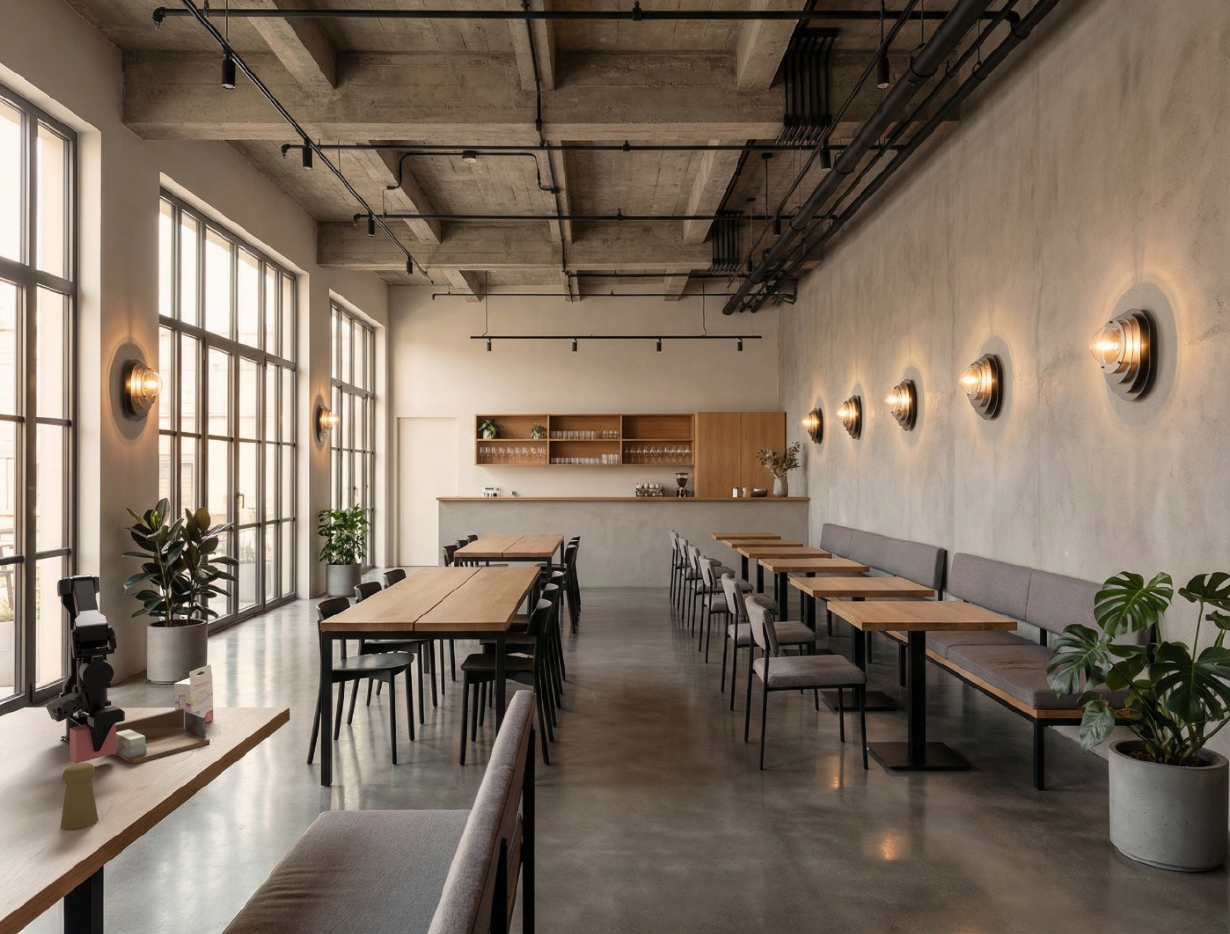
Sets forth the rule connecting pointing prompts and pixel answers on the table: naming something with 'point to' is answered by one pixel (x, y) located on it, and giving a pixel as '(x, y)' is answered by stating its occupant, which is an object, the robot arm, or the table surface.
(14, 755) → the table surface
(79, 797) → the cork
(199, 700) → the ink cartridge box
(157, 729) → the shelf
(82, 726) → the tall dusty pink block
